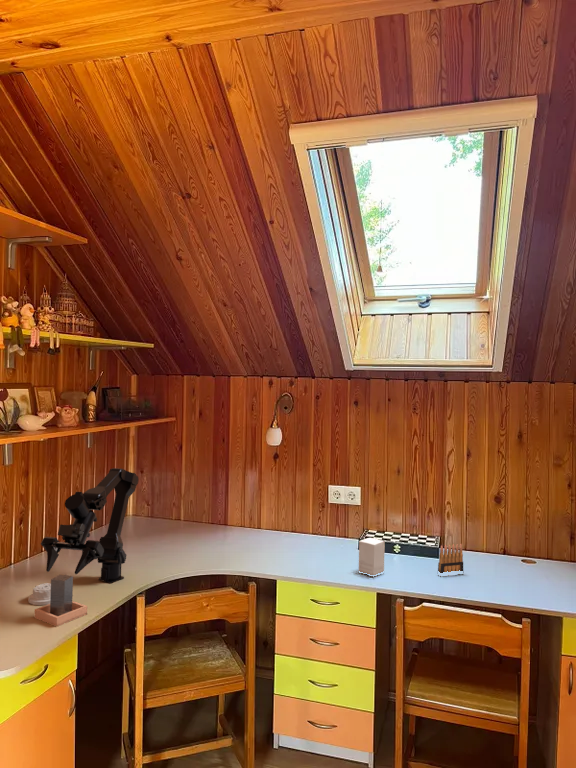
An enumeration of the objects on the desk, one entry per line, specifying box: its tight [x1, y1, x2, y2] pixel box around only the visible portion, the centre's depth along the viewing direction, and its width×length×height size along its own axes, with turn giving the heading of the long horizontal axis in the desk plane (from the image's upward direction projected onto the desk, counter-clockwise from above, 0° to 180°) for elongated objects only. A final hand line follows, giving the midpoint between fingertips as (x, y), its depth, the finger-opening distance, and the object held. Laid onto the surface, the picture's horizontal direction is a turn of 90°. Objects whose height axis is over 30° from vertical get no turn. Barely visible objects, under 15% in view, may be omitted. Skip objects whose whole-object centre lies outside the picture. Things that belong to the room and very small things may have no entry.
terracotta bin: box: [34, 600, 88, 627], centre depth 168 cm, size 11×11×2 cm
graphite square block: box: [50, 574, 74, 616], centre depth 168 cm, size 4×4×11 cm
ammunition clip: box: [437, 543, 464, 573], centre depth 216 cm, size 11×2×12 cm, turn 110°
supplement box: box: [358, 537, 386, 575], centre depth 216 cm, size 7×7×13 cm
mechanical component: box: [28, 582, 51, 606], centre depth 181 cm, size 10×4×10 cm
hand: (61, 572), depth 168 cm, fingers open, 9 cm apart
